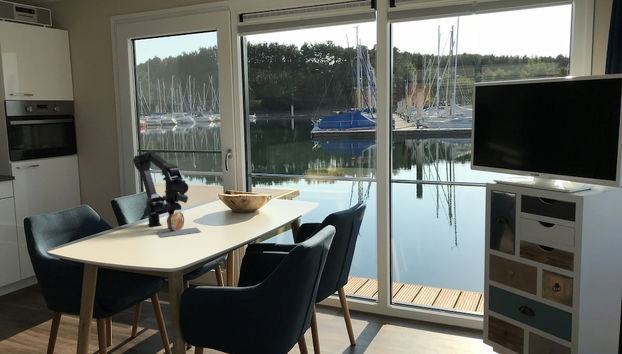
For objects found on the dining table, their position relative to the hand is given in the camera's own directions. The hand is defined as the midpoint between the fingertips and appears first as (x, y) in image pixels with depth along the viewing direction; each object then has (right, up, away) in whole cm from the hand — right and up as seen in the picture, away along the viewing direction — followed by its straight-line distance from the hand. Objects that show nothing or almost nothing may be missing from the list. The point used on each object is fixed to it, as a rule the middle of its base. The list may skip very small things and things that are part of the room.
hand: (171, 218), depth 282 cm
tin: (+4, -6, -4) cm, 8 cm away
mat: (+7, -7, -11) cm, 14 cm away
